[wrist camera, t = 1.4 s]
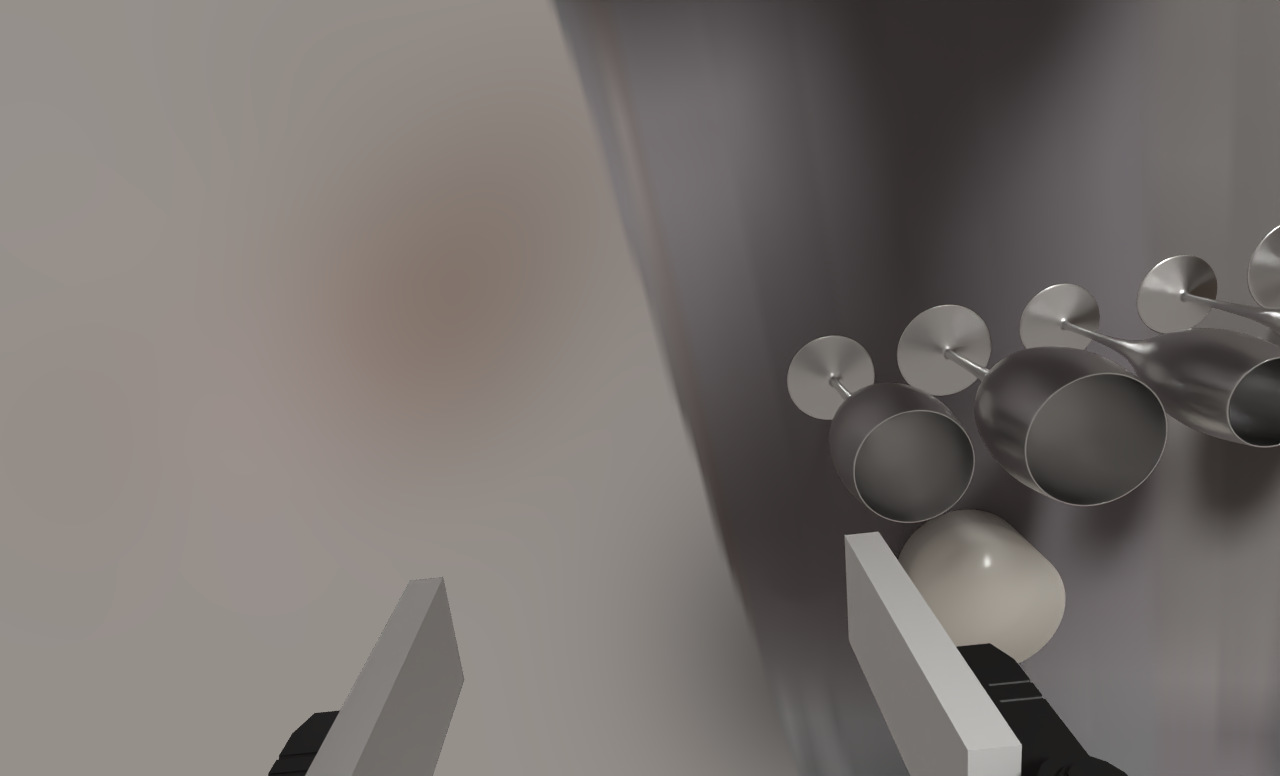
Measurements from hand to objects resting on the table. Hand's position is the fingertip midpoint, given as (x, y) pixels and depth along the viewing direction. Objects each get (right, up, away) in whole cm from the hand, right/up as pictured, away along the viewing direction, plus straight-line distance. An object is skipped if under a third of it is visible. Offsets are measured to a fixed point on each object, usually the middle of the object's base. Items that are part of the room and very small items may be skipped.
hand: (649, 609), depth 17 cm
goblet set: (+21, +8, +20) cm, 30 cm away
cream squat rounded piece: (+17, -5, +24) cm, 30 cm away
